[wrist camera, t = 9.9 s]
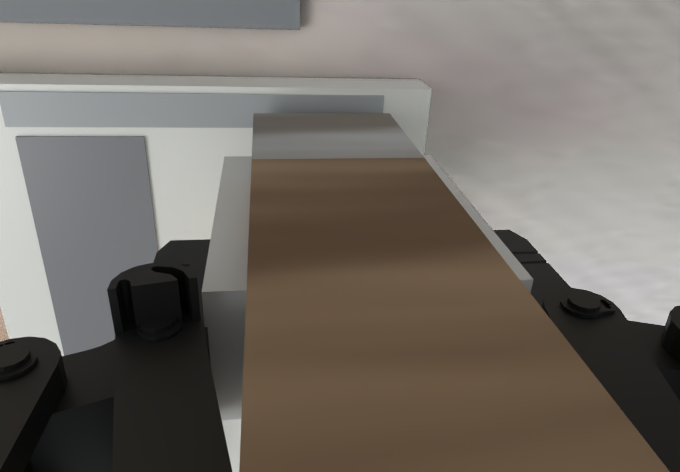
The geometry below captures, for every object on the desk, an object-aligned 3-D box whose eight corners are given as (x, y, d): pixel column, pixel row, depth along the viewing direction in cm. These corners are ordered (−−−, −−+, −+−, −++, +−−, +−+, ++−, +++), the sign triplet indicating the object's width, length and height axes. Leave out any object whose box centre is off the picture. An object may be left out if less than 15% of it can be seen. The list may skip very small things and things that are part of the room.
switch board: (-37, 72, 17) (-63, 83, 15) (419, 79, 19) (432, 89, 17) (69, 489, 25) (57, 521, 24) (380, 465, 27) (387, 494, 25)
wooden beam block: (253, 112, 16) (232, 639, 4) (389, 113, 17) (753, 580, 4) (257, 236, 18) (252, 866, 6) (380, 233, 19) (621, 804, 6)
